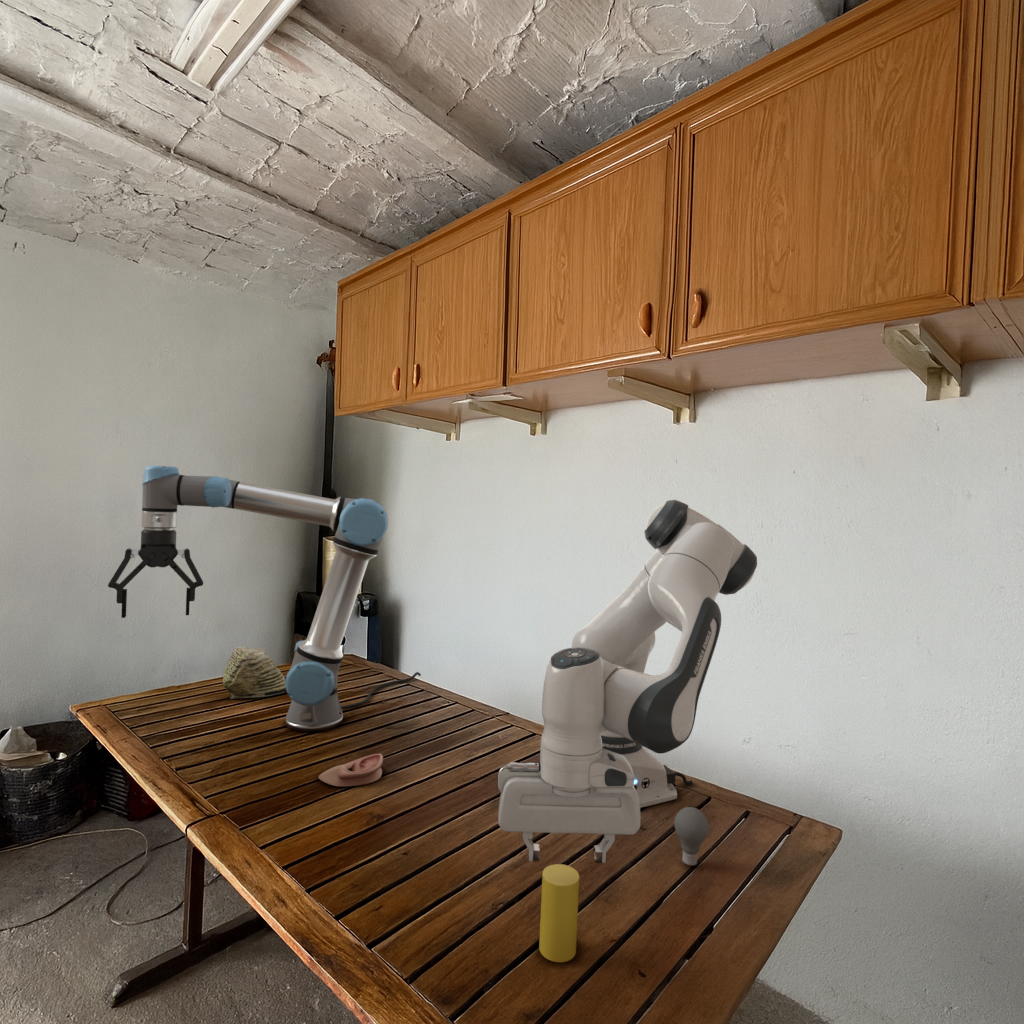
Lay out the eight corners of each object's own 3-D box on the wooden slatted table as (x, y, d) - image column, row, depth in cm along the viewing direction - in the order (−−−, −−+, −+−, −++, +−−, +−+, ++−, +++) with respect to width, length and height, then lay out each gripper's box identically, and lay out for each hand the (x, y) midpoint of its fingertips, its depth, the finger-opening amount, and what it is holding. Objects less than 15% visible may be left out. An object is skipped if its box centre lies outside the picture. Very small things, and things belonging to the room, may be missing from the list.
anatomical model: (312, 765, 139) (336, 745, 151) (311, 783, 139) (336, 762, 151) (368, 773, 137) (389, 752, 148) (367, 791, 137) (388, 769, 148)
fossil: (218, 695, 195) (220, 647, 195) (278, 685, 208) (279, 640, 207) (228, 703, 189) (230, 653, 188) (289, 692, 201) (290, 645, 201)
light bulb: (667, 854, 117) (670, 800, 117) (699, 854, 118) (702, 801, 117) (679, 873, 111) (681, 817, 111) (712, 873, 112) (715, 817, 111)
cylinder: (556, 968, 88) (559, 890, 87) (531, 946, 92) (534, 871, 91) (583, 952, 91) (587, 877, 91) (558, 931, 95) (561, 859, 95)
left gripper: (96, 529, 146) (93, 620, 146) (215, 530, 157) (212, 616, 157) (100, 527, 152) (97, 614, 153) (214, 529, 164) (212, 610, 164)
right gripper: (498, 771, 87) (494, 871, 87) (645, 775, 88) (641, 874, 88) (497, 753, 93) (494, 846, 94) (635, 757, 94) (631, 849, 94)
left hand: (156, 615), depth 155 cm, fingers open, 13 cm apart
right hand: (566, 860), depth 91 cm, fingers open, 8 cm apart
